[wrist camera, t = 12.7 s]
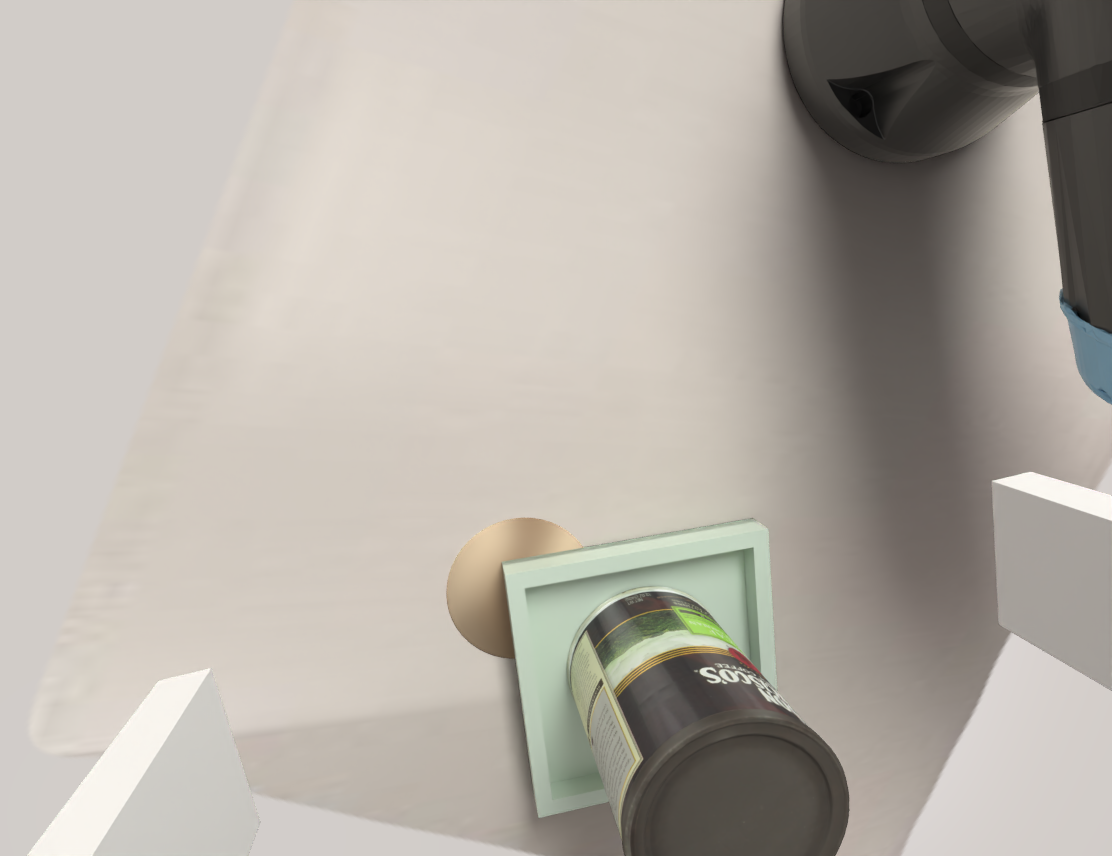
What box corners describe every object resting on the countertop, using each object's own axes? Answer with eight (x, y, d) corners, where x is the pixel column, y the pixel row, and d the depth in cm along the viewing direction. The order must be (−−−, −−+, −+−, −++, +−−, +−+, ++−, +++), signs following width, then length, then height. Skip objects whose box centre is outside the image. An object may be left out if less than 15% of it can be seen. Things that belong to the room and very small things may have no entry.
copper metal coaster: (584, 504, 42) (586, 506, 41) (599, 639, 44) (601, 643, 43) (436, 528, 41) (436, 531, 40) (457, 667, 42) (457, 671, 42)
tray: (752, 518, 43) (768, 528, 41) (766, 742, 47) (781, 762, 45) (501, 561, 41) (505, 575, 39) (533, 794, 44) (538, 818, 42)
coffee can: (628, 554, 42) (722, 676, 28) (752, 635, 44) (894, 783, 31) (531, 689, 42) (576, 874, 29) (659, 762, 45) (758, 964, 31)
